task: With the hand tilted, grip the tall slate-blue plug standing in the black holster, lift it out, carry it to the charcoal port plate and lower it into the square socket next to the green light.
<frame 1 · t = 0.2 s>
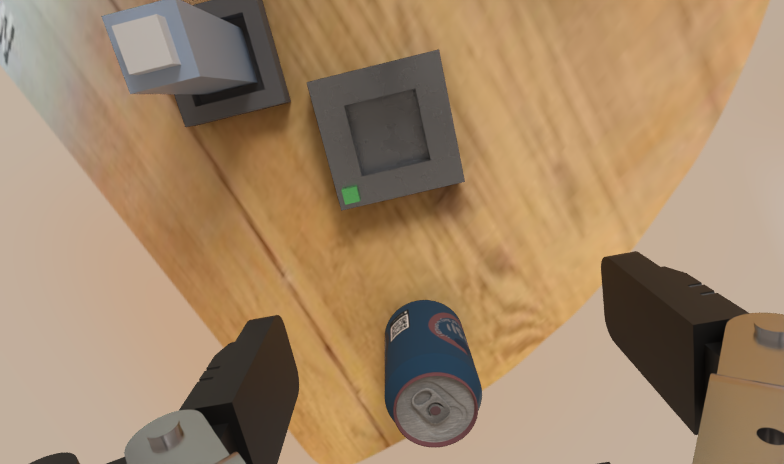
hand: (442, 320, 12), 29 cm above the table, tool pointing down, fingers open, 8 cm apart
plug: (224, 62, 37), resting on holster
holster: (226, 62, 38), on the table
soda can: (422, 328, 44), on the table
port: (387, 131, 39), on the table
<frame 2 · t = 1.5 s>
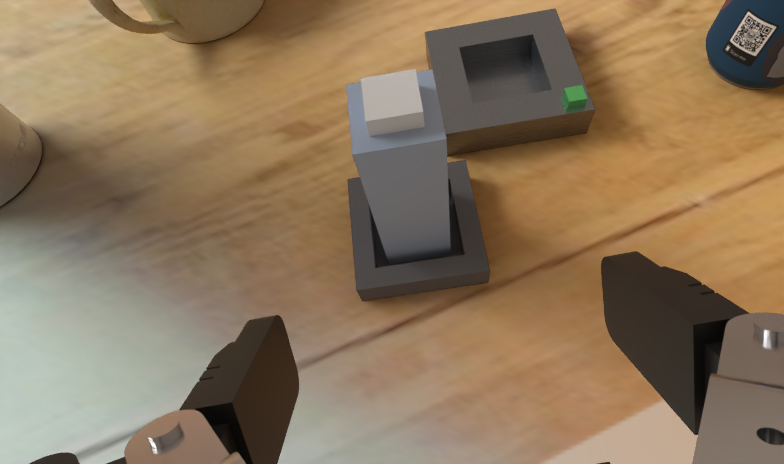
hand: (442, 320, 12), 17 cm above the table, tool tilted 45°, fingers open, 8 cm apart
plug: (415, 232, 32), resting on holster
holster: (416, 235, 32), on the table
soda can: (748, 62, 35), on the table
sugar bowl: (212, 18, 45), on the table
port: (501, 92, 37), on the table
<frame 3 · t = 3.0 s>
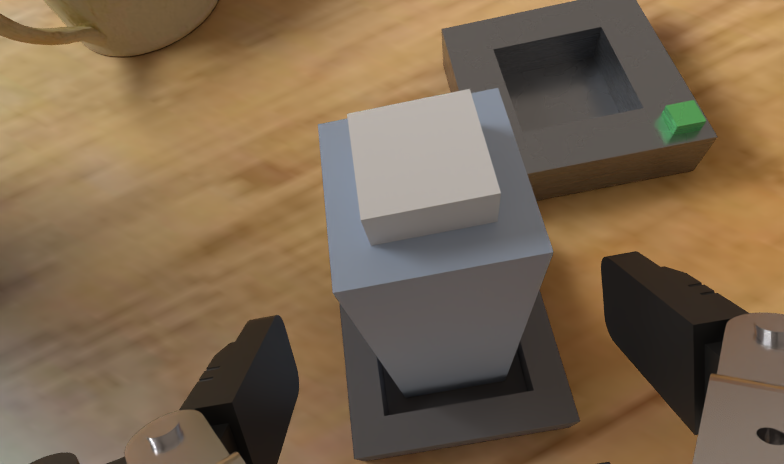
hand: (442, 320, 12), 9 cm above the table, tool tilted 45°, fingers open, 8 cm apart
plug: (445, 340, 20), resting on holster
holster: (445, 343, 21), on the table
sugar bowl: (150, 23, 34), on the table
port: (555, 112, 25), on the table
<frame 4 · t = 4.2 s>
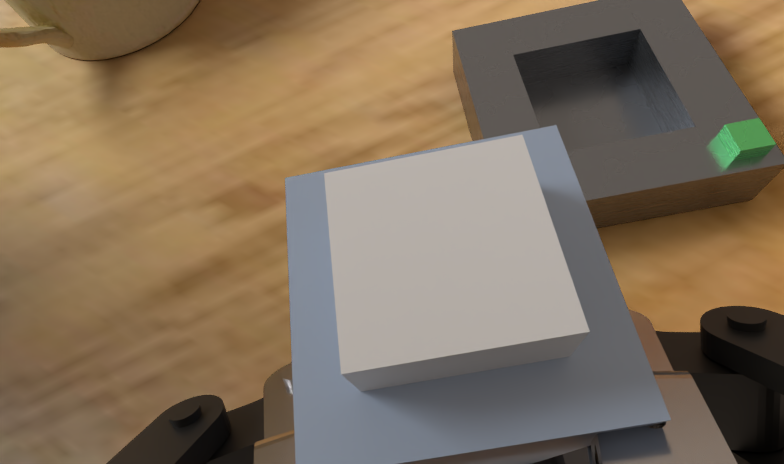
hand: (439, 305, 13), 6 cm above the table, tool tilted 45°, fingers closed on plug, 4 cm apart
plug: (458, 409, 17), point 1 cm above the table, touching gripper, holster
holster: (458, 411, 17), on the table
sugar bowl: (125, 22, 31), on the table
port: (584, 127, 22), on the table
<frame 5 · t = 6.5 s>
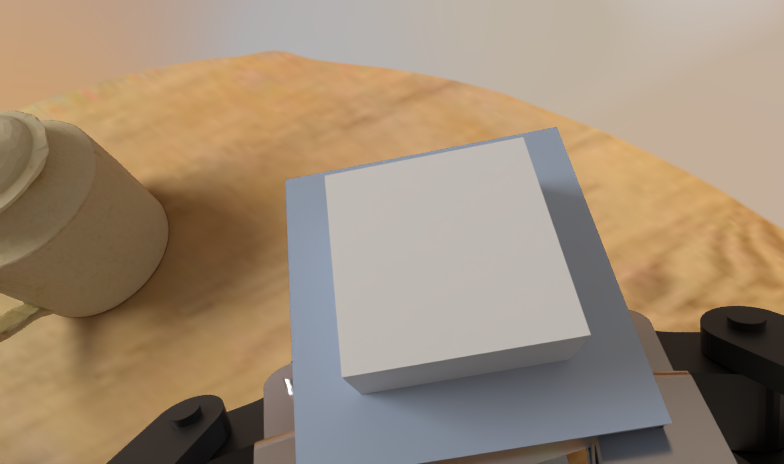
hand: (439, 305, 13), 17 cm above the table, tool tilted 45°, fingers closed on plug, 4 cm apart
plug: (458, 409, 17), point 12 cm above the table, touching gripper
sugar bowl: (100, 272, 36), on the table
when the fingers open (7 cm above the table, at t = 8.6 s): plug drops 1 cm, resting on port.
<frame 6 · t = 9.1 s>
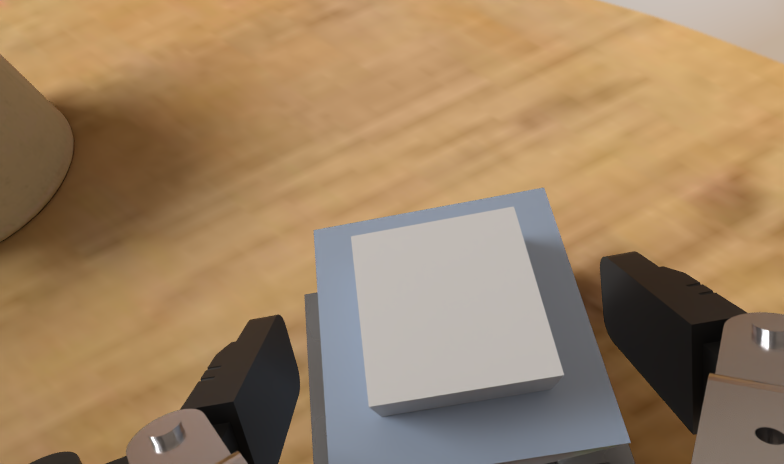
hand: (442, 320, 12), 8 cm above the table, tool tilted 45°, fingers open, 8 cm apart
plug: (459, 417, 18), point 1 cm above the table, touching port
port: (458, 416, 18), on the table
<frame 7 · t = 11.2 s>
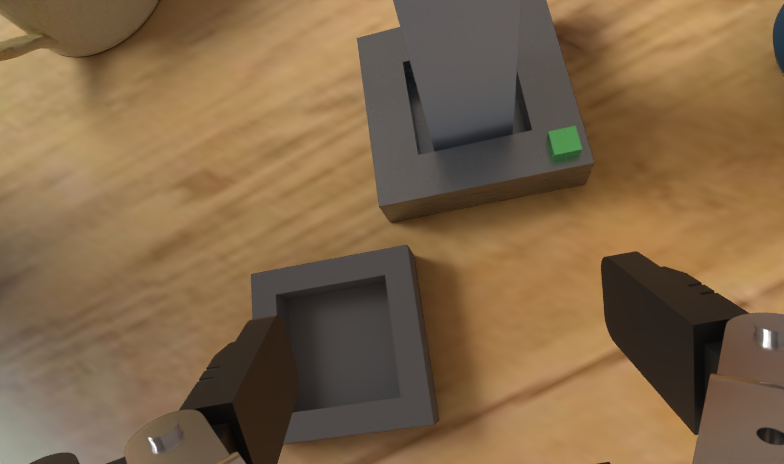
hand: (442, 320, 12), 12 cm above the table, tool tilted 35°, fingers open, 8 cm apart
plug: (467, 116, 26), resting on port
holster: (347, 346, 24), on the table
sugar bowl: (102, 17, 35), on the table
port: (466, 119, 26), on the table
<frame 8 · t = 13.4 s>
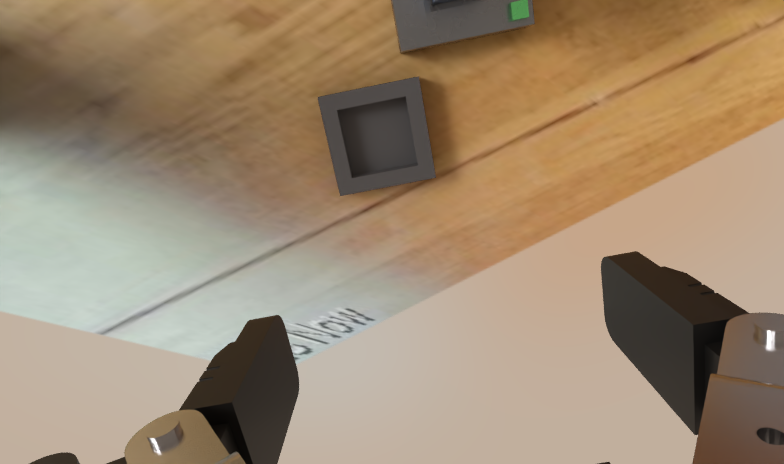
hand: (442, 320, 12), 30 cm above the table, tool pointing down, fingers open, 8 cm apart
holster: (378, 135, 40), on the table
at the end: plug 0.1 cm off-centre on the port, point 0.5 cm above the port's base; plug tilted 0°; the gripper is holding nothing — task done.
